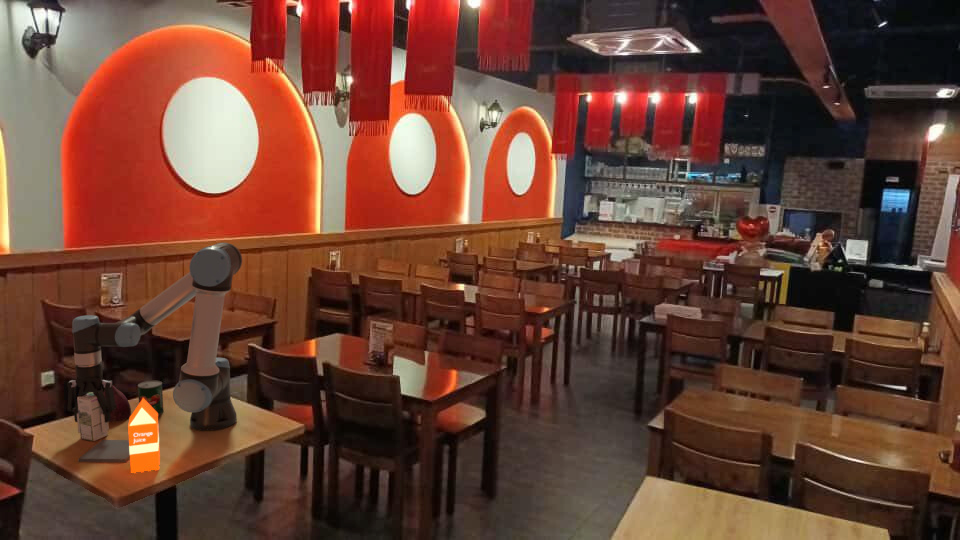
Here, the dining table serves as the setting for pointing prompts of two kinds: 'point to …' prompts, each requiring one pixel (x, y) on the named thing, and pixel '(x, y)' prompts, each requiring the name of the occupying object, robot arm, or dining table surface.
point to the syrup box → (90, 417)
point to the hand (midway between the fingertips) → (93, 431)
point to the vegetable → (119, 406)
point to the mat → (108, 452)
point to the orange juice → (144, 438)
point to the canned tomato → (152, 394)
